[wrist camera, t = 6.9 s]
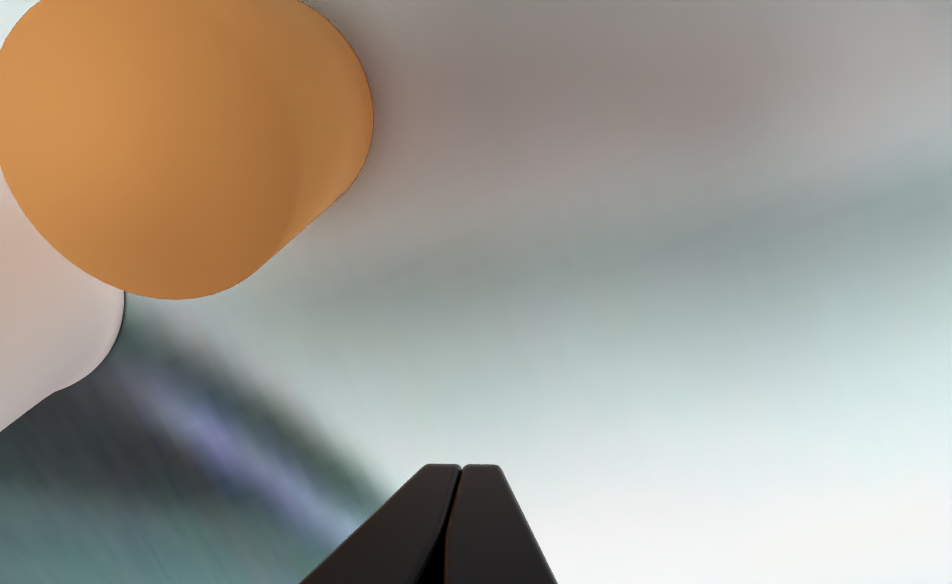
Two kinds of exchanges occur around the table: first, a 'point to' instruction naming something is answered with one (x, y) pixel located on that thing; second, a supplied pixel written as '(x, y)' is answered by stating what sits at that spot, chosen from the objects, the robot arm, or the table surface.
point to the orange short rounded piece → (178, 134)
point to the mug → (46, 315)
